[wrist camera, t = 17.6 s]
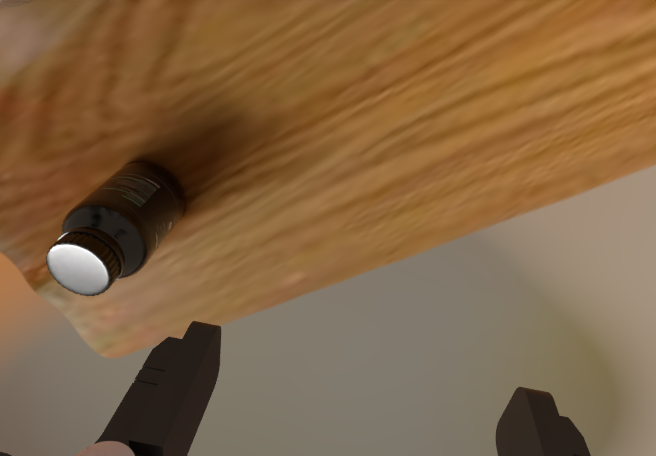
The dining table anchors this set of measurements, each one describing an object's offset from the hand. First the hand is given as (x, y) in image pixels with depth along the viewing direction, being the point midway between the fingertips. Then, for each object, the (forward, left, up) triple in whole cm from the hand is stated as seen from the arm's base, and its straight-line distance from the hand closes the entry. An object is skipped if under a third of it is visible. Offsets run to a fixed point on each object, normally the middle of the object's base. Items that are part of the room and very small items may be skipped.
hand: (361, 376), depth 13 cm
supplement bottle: (-19, -13, -28) cm, 36 cm away
